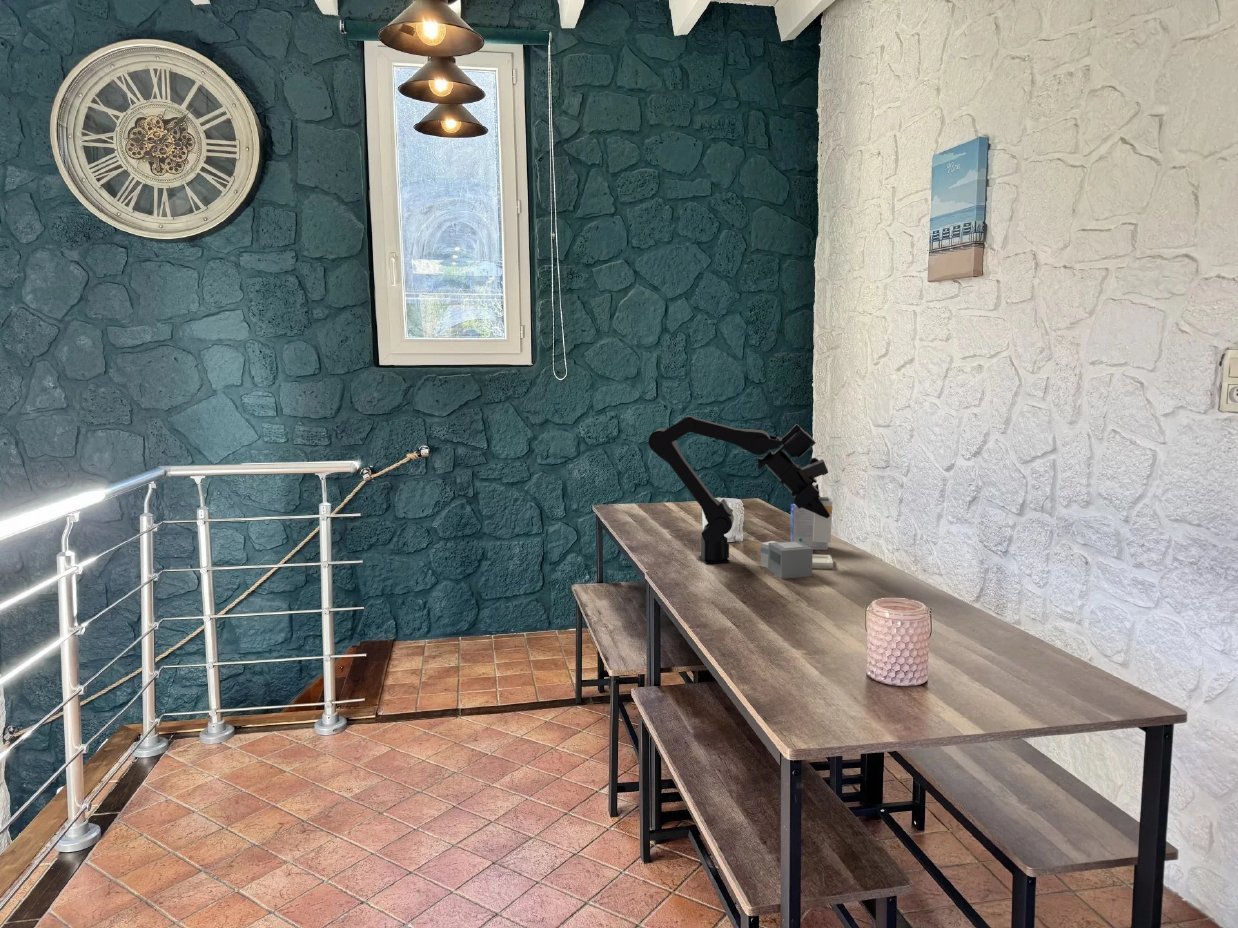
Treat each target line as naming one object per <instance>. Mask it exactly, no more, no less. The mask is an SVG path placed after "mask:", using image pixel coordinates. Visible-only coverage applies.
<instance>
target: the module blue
mask: <svg viewBox="0 0 1238 928" xmlns="http://www.w3.org/2000/svg"><path fill="white" fill-rule="evenodd" d="M774 542H777V541H775V540H770V541H765V542H760V567H762V568H763V567H764V568H766V569H768V548H769V543H774Z"/></svg>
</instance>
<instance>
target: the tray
mask: <svg viewBox="0 0 1238 928" xmlns="http://www.w3.org/2000/svg"><path fill="white" fill-rule="evenodd" d="M812 569H822V570H823V569H826V570H828V569H829V570H834V562H833V559H832V555H831V554H813V557H812Z"/></svg>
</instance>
